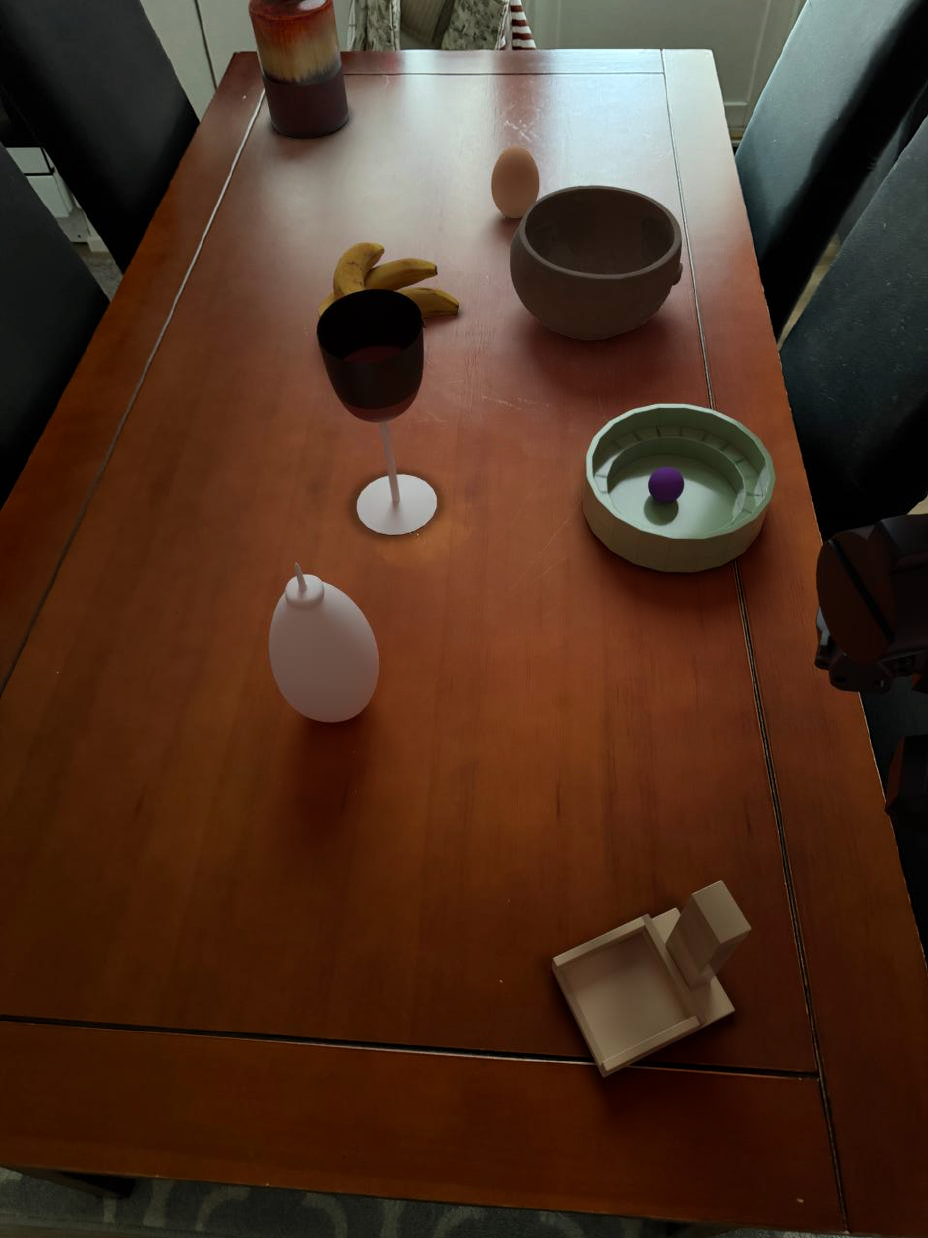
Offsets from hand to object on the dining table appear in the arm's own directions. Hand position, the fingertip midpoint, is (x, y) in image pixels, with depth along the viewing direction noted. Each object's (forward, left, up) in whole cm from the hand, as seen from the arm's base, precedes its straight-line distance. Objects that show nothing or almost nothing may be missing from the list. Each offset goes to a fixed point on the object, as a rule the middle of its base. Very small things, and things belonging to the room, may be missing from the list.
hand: (912, 745), depth 54 cm
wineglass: (+43, -18, -13) cm, 48 cm away
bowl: (+34, -51, -13) cm, 63 cm away
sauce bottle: (+39, +3, -13) cm, 41 cm away
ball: (+20, -26, -11) cm, 35 cm away
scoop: (+11, +16, -13) cm, 23 cm away
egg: (+48, -66, -13) cm, 83 cm away
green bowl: (+19, -26, -13) cm, 35 cm away
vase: (+83, -80, -13) cm, 116 cm away
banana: (+54, -42, -13) cm, 70 cm away
